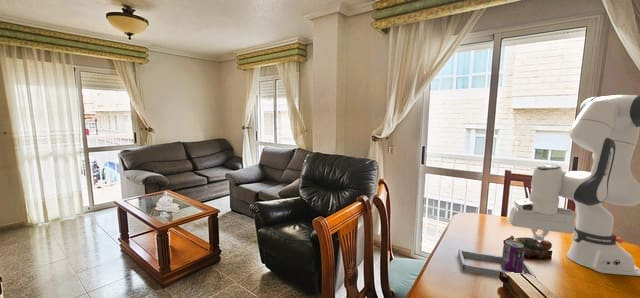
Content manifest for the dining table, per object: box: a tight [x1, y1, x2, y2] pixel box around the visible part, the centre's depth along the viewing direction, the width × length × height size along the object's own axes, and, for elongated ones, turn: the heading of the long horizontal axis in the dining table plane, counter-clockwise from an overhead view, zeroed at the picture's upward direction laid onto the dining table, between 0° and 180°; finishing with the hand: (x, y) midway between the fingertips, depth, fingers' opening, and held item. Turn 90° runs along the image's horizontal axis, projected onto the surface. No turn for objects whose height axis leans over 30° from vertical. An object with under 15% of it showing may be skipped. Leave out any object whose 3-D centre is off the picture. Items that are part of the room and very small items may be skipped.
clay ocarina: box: [515, 236, 553, 260], centre depth 123 cm, size 10×15×8 cm, turn 73°
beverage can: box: [501, 239, 525, 274], centre depth 110 cm, size 7×7×12 cm
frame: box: [457, 249, 537, 279], centre depth 113 cm, size 25×13×2 cm, turn 70°
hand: (538, 239), depth 106 cm, fingers closed
